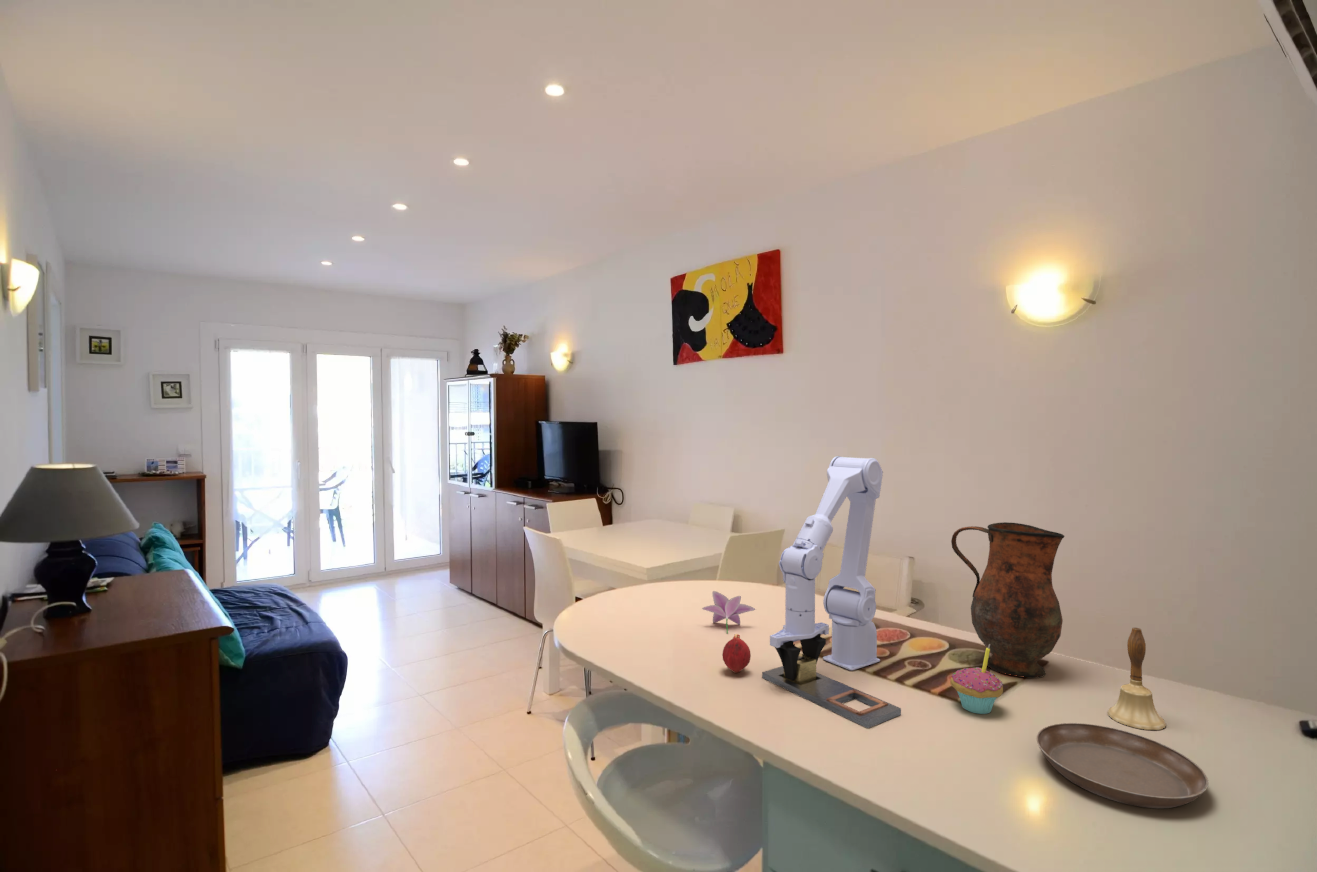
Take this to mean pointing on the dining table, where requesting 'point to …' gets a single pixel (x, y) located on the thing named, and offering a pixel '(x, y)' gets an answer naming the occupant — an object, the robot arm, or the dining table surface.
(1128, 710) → the hand bell
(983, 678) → the cupcake
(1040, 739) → the plant saucer
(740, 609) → the lily
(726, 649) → the pomegranate
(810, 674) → the brass cube with hole
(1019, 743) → the dining table surface
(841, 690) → the rail
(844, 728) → the dining table surface
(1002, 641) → the pitcher
